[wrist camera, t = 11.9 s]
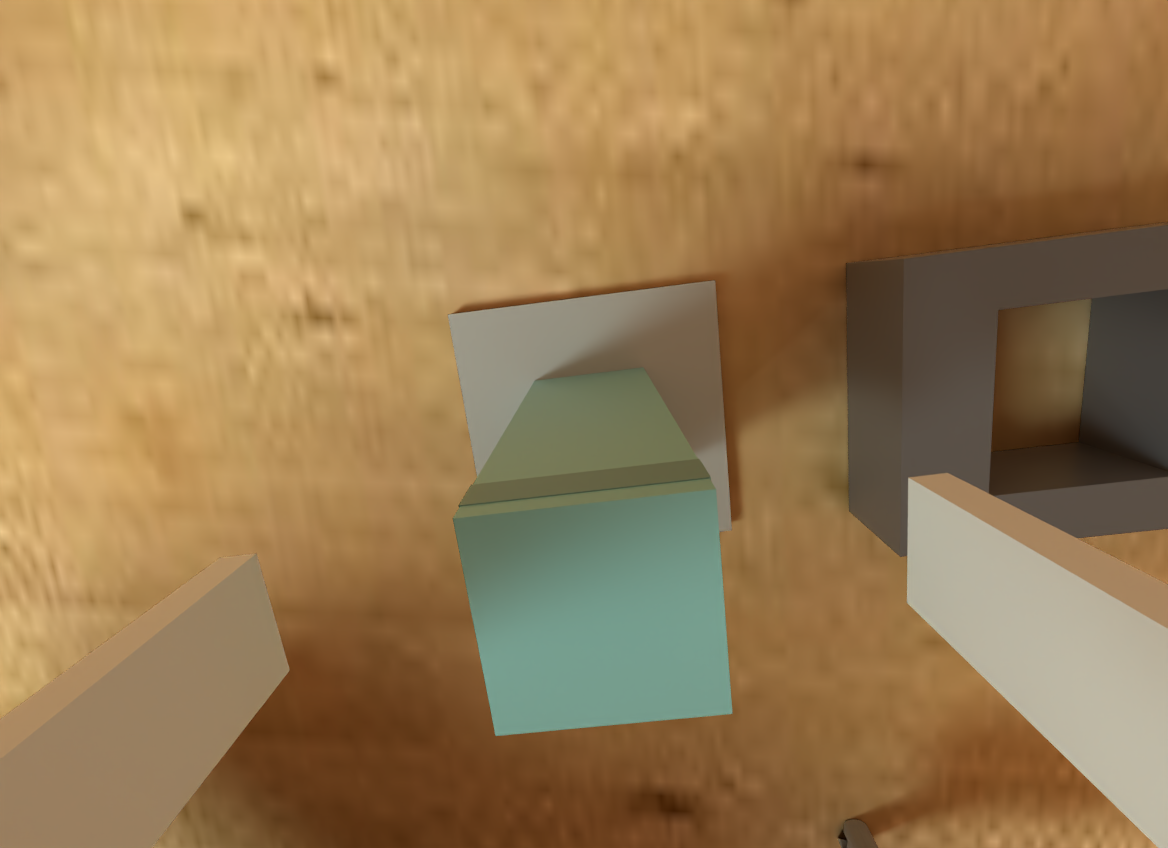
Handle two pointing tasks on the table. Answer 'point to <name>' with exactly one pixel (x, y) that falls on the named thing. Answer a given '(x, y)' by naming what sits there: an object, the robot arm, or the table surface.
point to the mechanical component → (857, 835)
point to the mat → (600, 361)
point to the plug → (595, 562)
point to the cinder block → (967, 375)
